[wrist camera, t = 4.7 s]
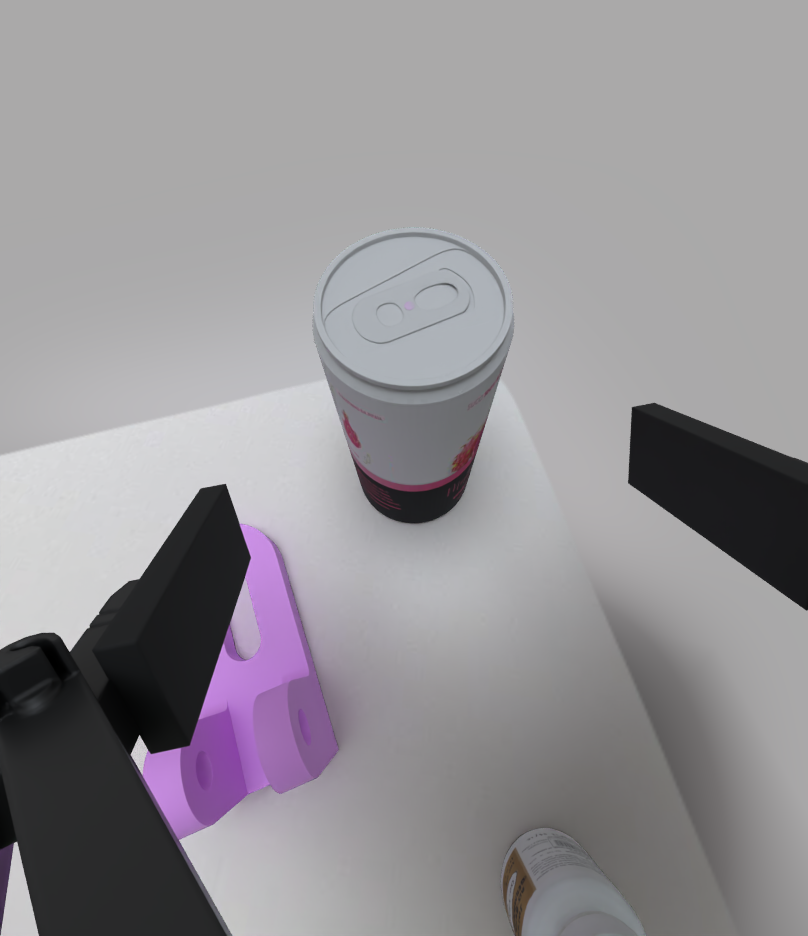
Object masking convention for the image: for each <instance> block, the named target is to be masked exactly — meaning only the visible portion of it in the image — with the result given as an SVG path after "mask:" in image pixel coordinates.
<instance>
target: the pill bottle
mask: <svg viewBox="0 0 808 936" xmlns="http://www.w3.org/2000/svg"><path fill="white" fill-rule="evenodd" d="M501 891H502V898H503V903H504V906H505V909H506V912H507V915H508V918H509V921H510V924H511V927H512V930H513V932H514V935H515V936H646V934H645V931H644V929H643V926H642V924H641V922H640V920H639V918H638V917H637V915H636V913H635V912H634V910H633V908H632V907H631V906H630V904H629V903H628V902H627V901H626V899H625V898H624V897H623V896H622V894H621V893H620V892H619V891H618V889H617V888H616V887H615V886H614V885H613V884H612V883H611V881H610V880H609V879H608V878H607V877H606V875H605V874H604V873H603V872H602V871H601V869H600V868H599V867H598V866H597V864H596V863H595V862H594V861H593V860H592V858H591V857H590V856H589V855H588V854H587V852H586V851H585V850H584V849H583V848H582V847H581V846H580V845H579V844H578V843H577V842H576V841H575V840H574V839H573V838H571V837H570V836H568V835H567V834H565V833H563V832H561V831H558V830H555V829H552V828H539V829H534V830H531V831H528V832H526V833H525V834H523V835H522V836H520V837H519V838H518V839H517V840H516V841H515V842H514V843H513V845H512V846H511V847H510V849H509V851H508V853H507V855H506V857H505V860H504V863H503V867H502V872H501Z"/></svg>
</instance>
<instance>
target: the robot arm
mask: <svg viewBox="0 0 808 936" xmlns="http://www.w3.org/2000/svg"><path fill="white" fill-rule="evenodd" d="M630 438H631V439H630V457H629V458H630V459H629V480H628V483H629V484H630V485H632V486H633V487H634V488H636V489H637V490H639V491H640V492H641V493H643V494H644V495H646V496H647V497H649V498H650V499H651V500H653V501H654V502H655V503H657V504H658V505H660V506H661V507H662V508H664V509H665V510H666V511H668V512H670V513H671V514H672V515H674V516H675V517H676V518H678V519H679V520H681V521H682V522H683V523H685V524H686V525H687V526H689V527H690V528H692V529H693V530H695V531H696V532H697V533H699V534H700V535H702V536H703V537H704V538H706V539H707V540H709V541H710V542H711V543H713V544H714V545H715V546H717V547H718V548H720V549H721V550H722V551H724V552H725V553H727V554H728V555H729V556H731V557H732V558H734V559H735V560H736V561H738V562H739V563H741V564H742V565H743V566H745V567H746V568H748V569H749V570H750V571H752V572H753V573H755V574H756V575H758V576H759V577H760V578H762V579H763V580H764V581H766V582H767V583H769V584H770V585H772V586H773V587H774V588H776V589H777V590H779V591H780V592H781V593H783V594H784V595H785V596H787V597H788V598H790V599H791V600H792V601H794V602H795V603H797V604H798V605H799V606H801V607H802V608H804V609H805V610H808V463H807V462H804V461H802V460H799V459H796V458H792V457H789V456H786V455H784V454H782V453H779V452H777V451H774V450H771V449H769V448H767V447H764V446H761V445H759V444H757V443H754V442H752V441H749V440H746V439H744V438H741V437H739V436H736V435H734V434H731V433H729V432H726V431H724V430H721V429H719V428H716V427H713V426H711V425H709V424H706V423H704V422H701V421H699V420H696V419H694V418H691V417H689V416H686V415H683V414H681V413H679V412H676V411H673V410H671V409H669V408H666V407H663V406H661V405H658V404H656V403H651V404H646V405H641V406H636V407H632V418H631V437H630ZM250 560H251V556H250V553H249V550H248V547H247V544H246V541H245V538H244V536H243V533H242V530H241V527H240V524H239V521H238V518H237V515H236V512H235V509H234V506H233V504H232V501H231V498H230V495H229V492H228V489H227V486H226V484H222V485H217V486H212V487H207V488H201V489H200V490H199V492H198V493H197V495H196V496H195V498H194V499H193V501H192V502H191V504H190V505H189V507H188V508H187V510H186V511H185V513H184V514H183V516H182V517H181V519H180V520H179V522H178V523H177V525H176V526H175V528H174V529H173V530H172V532H171V533H170V535H169V536H168V538H167V539H166V541H165V542H164V544H163V545H162V547H161V548H160V550H159V551H158V553H157V554H156V556H155V557H154V559H153V560H152V562H151V563H150V565H149V566H148V568H147V569H146V570H145V572H144V573H143V575H142V576H141V578H140V579H138V580H133V581H129V582H128V583H126V584H125V585H124V586H123V587H121V588H120V589H119V590H118V591H117V592H115V593H114V594H113V595H112V596H111V597H110V598H109V599H108V601H107V602H106V603H105V605H104V606H103V608H102V609H101V610H100V612H99V615H97V616H96V617H95V619H94V620H93V621H92V623H91V624H90V628H88V629H87V630H86V631H85V632H84V634H83V635H82V636H81V638H80V639H79V640H78V642H77V643H76V645H75V646H74V647H73V649H72V650H71V651H70V652H69V651H68V649H67V647H66V646H65V644H64V642H63V640H62V639H61V637H60V636H58V635H57V634H55V633H40V634H36V635H32V636H28V637H25V638H23V639H21V640H18V641H16V642H14V643H12V644H9V645H8V646H6V647H4V648H3V649H1V650H0V935H1V928H2V921H3V914H4V907H5V900H6V893H7V887H8V880H9V873H10V866H11V859H12V852H13V845H14V843H15V842H18V847H19V851H20V855H21V860H22V864H23V868H24V873H25V877H26V881H27V886H28V890H29V894H30V899H31V903H32V907H33V911H34V916H35V920H36V924H37V929H38V933H39V936H232V934H231V932H230V931H229V929H228V927H227V925H226V923H225V922H224V920H223V918H222V916H221V915H220V913H219V911H218V909H217V907H216V906H215V904H214V902H213V900H212V899H211V897H210V895H209V893H208V891H207V890H206V888H205V886H204V884H203V883H202V881H201V879H200V877H199V875H198V874H197V872H196V870H195V868H194V867H193V865H192V863H191V861H190V859H189V858H188V856H187V854H186V852H185V851H184V849H183V847H182V845H181V843H180V842H179V840H178V838H177V836H176V835H175V833H174V831H173V829H172V827H171V826H170V824H169V822H168V820H167V818H166V817H165V815H164V813H163V811H162V810H161V808H160V806H159V804H158V802H157V801H156V799H155V797H154V795H153V794H152V792H151V790H150V788H149V786H148V785H147V783H146V781H145V779H144V778H143V776H142V774H141V772H140V770H139V769H138V767H137V765H136V763H135V762H134V760H133V758H132V757H131V752H132V750H133V748H134V746H135V743H136V741H137V739H138V737H139V735H140V736H141V738H142V740H143V742H144V743H145V745H146V747H147V749H148V750H149V752H150V754H155V753H160V752H164V751H169V750H173V749H178V748H182V747H187V746H190V744H191V741H192V738H193V734H194V731H195V728H196V725H197V722H198V719H199V716H200V713H201V710H202V707H203V704H204V701H205V698H206V695H207V692H208V689H209V686H210V682H211V679H212V676H213V673H214V670H215V667H216V664H217V661H218V658H219V655H220V652H221V649H222V646H223V643H224V640H225V637H226V633H227V630H228V627H229V624H230V621H231V618H232V615H233V612H234V609H235V606H236V603H237V600H238V597H239V594H240V591H241V588H242V584H243V581H244V578H245V575H246V572H247V569H248V566H249V563H250Z"/></svg>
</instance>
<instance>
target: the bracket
mask: <svg viewBox="0 0 808 936" xmlns="http://www.w3.org/2000/svg"><path fill="white" fill-rule="evenodd" d="M240 527H241V530H242V533H243V536H244V538H245V541H246V544H247V547H248V550H249V553H250V556H251V560H250V563H249V566H248V569H247V572H246V575H245V577H246V580H247V584H248V588H249V592H250V596H251V600H252V604H253V608H254V611H255V615H256V619H257V623H258V627H259V631H260V635H261V644H260V647H259V650H258V651H257V653H256V654H255V655H254V656H253V657H252V658H250V659H248V660H244V659H242V658H241V657H240V656H239V655H238V654H237V652H236V649H235V645H234V641H233V637H232V632H231V628H230V624H229V627H228V630H227V633H226V637H225V640H224V643H223V646H222V649H221V652H220V655H219V658H218V661H217V664H216V667H215V670H214V673H213V676H212V679H211V682H210V686H209V689H208V692H207V695H206V698H205V701H204V704H203V707H202V710H201V713H200V716H199V720H198V722H197V725H196V728H195V731H194V734H193V738H192V741H191V744H190V746H187V747H182V748H178V749H173V750H169V751H164V752H160V753H155V754H150V752H149V750H148V752H147V755H146V758H145V762H144V768H143V778H144V779H145V781H146V783H147V785H148V786H149V788H150V790H151V792H152V794H153V795H154V797H155V799H156V801H157V802H158V804H159V806H160V808H161V810H162V811H163V813H164V815H165V817H166V818H167V820H168V822H169V824H170V826H171V827H172V829H173V831H174V833H175V835H176V836H177V838H178V840H180V839H182V838H184V837H186V836H188V835H191V834H193V833H195V832H197V831H200V830H202V829H204V828H206V827H209V826H211V825H213V824H214V823H215V822H217V821H218V820H219V819H220V818H221V817H222V816H224V815H225V814H226V813H227V812H228V811H229V810H230V809H232V808H233V807H234V806H235V805H236V804H237V803H239V802H240V801H241V800H242V799H243V798H244V797H245V796H247V795H248V794H250V793H252V792H254V791H257V790H259V789H261V788H263V787H266V786H268V785H271V787H272V788H273V789H274V790H275V791H276V792H277V793H279V794H282V793H284V792H287V791H289V790H291V789H293V788H295V787H298V786H300V785H302V784H304V783H307V782H309V781H311V780H313V779H315V778H318V777H319V775H320V774H321V773H322V771H323V770H324V769H325V767H326V766H327V765H328V763H329V762H330V761H331V759H332V758H333V757H334V755H335V754H336V753H337V752H338V750H339V749H338V746H337V742H336V739H335V736H334V732H333V729H332V725H331V722H330V719H329V715H328V712H327V708H326V705H325V702H324V698H323V695H322V691H321V688H320V684H319V681H318V678H317V674H316V671H315V667H314V664H313V661H312V657H311V654H310V650H309V647H308V644H307V640H306V637H305V633H304V630H303V626H302V623H301V620H300V616H299V613H298V609H297V606H296V603H295V599H294V596H293V592H292V589H291V585H290V582H289V579H288V575H287V572H286V568H285V565H284V562H283V558H282V556H281V553H280V551H279V549H278V548H277V546H276V545H275V544H274V543H273V542H272V541H271V540H270V539H269V538H268V537H267V536H265V535H264V534H263V533H261V532H260V531H258V530H257V529H255V528H253V527H251V526H248V525H244V524H240Z"/></svg>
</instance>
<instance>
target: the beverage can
mask: <svg viewBox="0 0 808 936" xmlns="http://www.w3.org/2000/svg"><path fill="white" fill-rule="evenodd" d="M313 312H314V313H313V335H314V340H315V344H316V347H317V350H318V353H319V356H320V359H321V362H322V366H323V369H324V371H325V375H326V378H327V381H328V384H329V387H330V390H331V393H332V396H333V399H334V403H335V406H336V409H337V412H338V415H339V418H340V421H341V424H342V427H343V430H344V433H345V437H346V440H347V443H348V446H349V449H350V452H351V455H352V458H353V461H354V464H355V467H356V470H357V474H358V477H359V480H360V483H361V486H362V489H363V491H364V493H365V496H366V497H367V499H368V500H369V502H370V503H371V504H372V505H373V506H374V507H375V508H376V509H377V510H378V511H379V512H381V513H382V514H384V515H385V516H387V517H389V518H391V519H394V520H397V521H401V522H406V523H422V522H427V521H431V520H434V519H436V518H438V517H440V516H442V515H444V514H445V513H447V512H448V511H449V510H451V509H452V508H453V507H454V506H455V505H456V503H457V502H458V501H459V499H460V498H461V496H462V494H463V492H464V490H465V487H466V484H467V481H468V478H469V475H470V471H471V468H472V465H473V462H474V459H475V456H476V452H477V449H478V446H479V443H480V440H481V436H482V433H483V430H484V427H485V424H486V421H487V417H488V414H489V411H490V408H491V405H492V402H493V398H494V395H495V392H496V389H497V386H498V382H499V379H500V376H501V373H502V369H503V366H504V363H505V360H506V357H507V354H508V351H509V347H510V344H511V340H512V337H513V331H514V314H513V297H512V292H511V288H510V285H509V282H508V280H507V278H506V276H505V274H504V272H503V271H502V269H501V267H500V266H499V265H498V263H497V262H496V261H495V260H494V259H493V258H492V257H491V256H490V255H489V254H488V253H487V252H486V251H484V250H483V249H482V248H480V247H479V246H478V245H476V244H474V243H473V242H471V241H469V240H467V239H465V238H463V237H461V236H458V235H455V234H453V233H449V232H446V231H442V230H437V229H431V228H419V227H414V228H411V227H409V228H398V229H391V230H387V231H383V232H379V233H376V234H373V235H371V236H368V237H366V238H363V239H361V240H359V241H357V242H356V243H354V244H352V245H351V246H349V247H348V248H346V249H345V250H344V251H342V252H341V253H340V254H339V255H338V256H337V257H336V258H335V259H334V260H333V261H332V262H331V263H330V264H329V266H328V267H327V268H326V270H325V271H324V273H323V275H322V277H321V278H320V280H319V283H318V285H317V288H316V292H315V296H314V303H313Z"/></svg>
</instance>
